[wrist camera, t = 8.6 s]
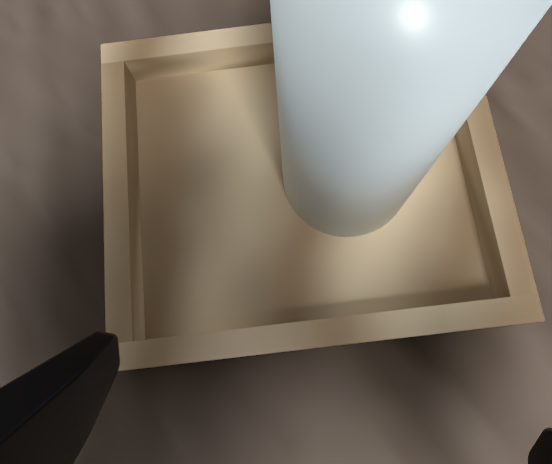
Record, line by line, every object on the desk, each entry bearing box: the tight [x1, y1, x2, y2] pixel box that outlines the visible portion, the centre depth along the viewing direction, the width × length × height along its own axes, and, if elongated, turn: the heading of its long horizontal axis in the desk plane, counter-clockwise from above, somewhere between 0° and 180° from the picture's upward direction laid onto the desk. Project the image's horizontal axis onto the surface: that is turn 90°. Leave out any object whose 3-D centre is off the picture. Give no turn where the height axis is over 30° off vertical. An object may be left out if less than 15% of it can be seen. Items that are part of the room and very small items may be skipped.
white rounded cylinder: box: [270, 0, 552, 237], centre depth 14 cm, size 5×5×12 cm
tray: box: [101, 23, 545, 371], centre depth 19 cm, size 16×14×2 cm
